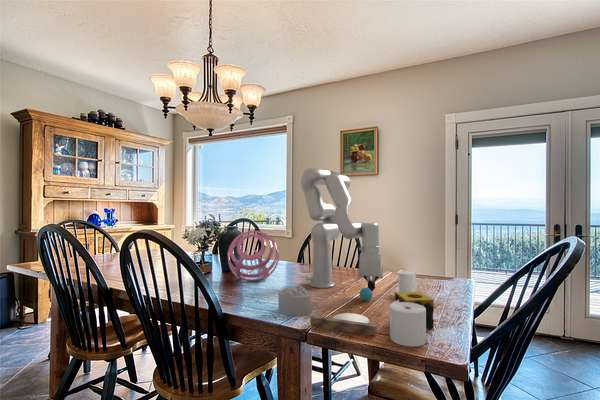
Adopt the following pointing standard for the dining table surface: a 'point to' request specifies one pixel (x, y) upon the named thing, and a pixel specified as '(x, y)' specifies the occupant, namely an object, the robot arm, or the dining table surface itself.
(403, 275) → the white cup
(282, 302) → the lumpy-topped squat cylinder
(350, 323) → the stopper rail
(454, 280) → the dining table surface
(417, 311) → the toilet tissue
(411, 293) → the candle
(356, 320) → the disc
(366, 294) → the ball
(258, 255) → the spiral basket
